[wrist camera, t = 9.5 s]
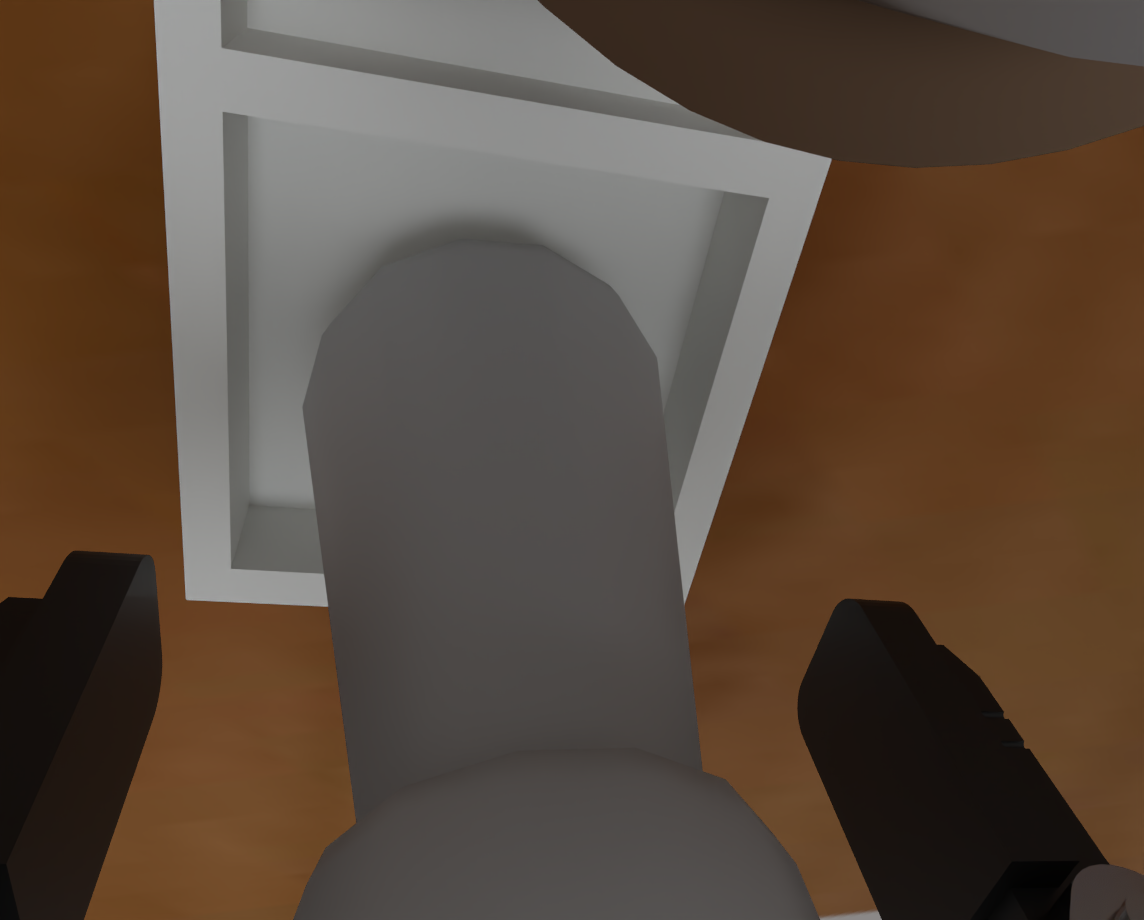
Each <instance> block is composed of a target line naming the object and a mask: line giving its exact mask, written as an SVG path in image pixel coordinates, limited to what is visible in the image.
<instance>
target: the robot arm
mask: <svg viewBox="0 0 1144 920" xmlns="http://www.w3.org/2000/svg"><path fill="white" fill-rule="evenodd" d="M161 676H162V649H161V637H160V624H159V611H158V599H157V586H156V573H155V566H154V561H153V559H152V557H151V556H150V555H140V554H124V553H107V552H90V551H73V552H71V553H70V554H69V555H68V556H67V557H66V559H65V560H64V562H63V564H62V565H61V567H60V569H59V571H58V573H57V574H56V576H55V578H54V580H53V581H52V583H51V585H50V587H49V589H48V590H47V592H46V594H45V596H44V598H43V599H36V598H16V597H8V598H7V599H5V600H4V601H3V602H1V603H0V920H84V917H85V915H86V912H87V909H88V906H89V903H90V900H91V897H92V894H93V891H94V888H95V886H96V883H97V880H98V877H99V874H100V871H101V868H102V865H103V862H104V860H105V857H106V854H107V851H108V848H109V845H110V842H111V839H112V836H113V833H114V831H115V828H116V825H117V822H118V819H119V816H120V813H121V810H122V807H123V804H124V802H125V799H126V796H127V793H128V790H129V787H130V784H131V781H132V778H133V776H134V773H135V770H136V767H137V764H138V761H139V758H140V755H141V752H142V749H143V747H144V744H145V741H146V738H147V735H148V732H149V729H150V726H151V723H152V721H153V717H154V714H155V711H156V707H157V702H158V698H159V692H160V685H161ZM1003 713H1004V711H1003V710H1002V708H1001V707H1000V706H999V704H998V703H997V701H996V700H995V698H994V697H993V695H992V694H991V693H990V691H989V690H988V688H987V687H986V685H985V684H984V682H983V681H982V680H981V678H980V677H979V676H978V675H977V674H976V673H975V672H974V671H973V670H971V669H970V668H969V667H968V666H967V665H966V664H965V663H963V662H962V661H961V660H960V659H959V658H958V657H957V656H955V655H954V654H953V653H952V652H951V651H950V650H948V649H947V648H946V647H945V646H944V645H936V643H935V642H934V640H933V639H932V637H931V636H930V634H929V633H928V631H927V629H926V628H925V626H924V625H923V623H922V622H921V620H920V619H919V617H918V616H917V614H916V613H915V612H914V610H913V609H912V608H911V607H910V606H909V605H907V604H906V603H903V602H895V601H879V600H862V599H844V600H842V601H841V602H840V603H838V605H837V606H836V607H835V609H834V611H833V613H832V615H831V617H830V620H829V622H828V624H827V626H826V629H825V631H824V633H823V635H822V638H821V640H820V642H819V644H818V647H817V649H816V651H815V654H814V656H813V658H812V660H811V663H810V665H809V667H808V669H807V672H806V674H805V676H804V678H803V681H802V683H801V686H800V690H799V695H798V720H799V725H800V729H801V733H802V735H803V738H804V740H805V743H806V745H807V747H808V750H809V752H810V754H811V757H812V759H813V761H814V764H815V766H816V768H817V771H818V773H819V775H820V777H821V780H822V782H823V784H824V787H825V789H826V791H827V794H828V796H829V798H830V801H831V803H832V805H833V808H834V810H835V812H836V814H837V817H838V819H839V821H840V824H841V826H842V828H843V831H844V833H845V835H846V838H847V840H848V842H849V845H850V847H851V849H852V851H853V854H854V856H855V858H856V861H857V863H858V865H859V868H860V870H861V872H862V875H863V877H864V879H865V882H866V884H867V886H868V888H869V891H870V893H871V895H872V898H873V900H874V902H875V905H876V907H877V909H878V912H879V914H880V916H881V918H882V920H1144V875H1142V874H1140V873H1137V872H1135V871H1132V870H1129V869H1126V868H1123V867H1119V866H1114V865H1110V864H1109V863H1108V862H1107V860H1106V859H1105V858H1104V856H1103V855H1102V853H1101V852H1100V850H1099V849H1098V847H1097V846H1096V845H1095V843H1094V842H1093V840H1092V839H1091V837H1090V836H1089V834H1088V833H1087V831H1086V830H1085V829H1084V827H1083V826H1082V824H1081V823H1080V821H1079V820H1078V818H1077V817H1076V816H1075V814H1074V813H1073V811H1072V810H1071V808H1070V807H1069V805H1068V804H1067V803H1066V801H1065V800H1064V798H1063V797H1062V795H1061V794H1060V792H1059V791H1058V790H1057V788H1056V787H1055V785H1054V784H1053V782H1052V781H1051V779H1050V778H1049V776H1048V775H1047V774H1046V772H1045V771H1044V769H1043V768H1042V766H1041V765H1040V763H1039V762H1038V761H1037V759H1036V758H1035V756H1034V755H1033V753H1032V752H1031V750H1030V749H1025V748H1024V740H1023V739H1022V737H1021V736H1020V735H1019V733H1018V732H1017V730H1016V729H1015V727H1014V726H1013V724H1012V723H1011V721H1010V720H1009V719H1004V717H1003Z"/></svg>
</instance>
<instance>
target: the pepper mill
mask: <svg viewBox="0 0 1144 920" xmlns="http://www.w3.org/2000/svg"><path fill="white" fill-rule="evenodd" d="M538 1H539V2H540V3H541V4H542V5H543V6H544V7H545V8H546V9H547V10H549V11H550V12H551V13H552V14H553V15H555V16H556V17H557V18H558V19H560V20H561V21H562V22H563V23H564V24H566V25H567V26H568V27H569V28H571V29H572V30H573V31H574V32H575V33H577V34H578V35H579V36H580V37H581V38H583V39H584V40H585V41H586V42H588V43H589V44H590V45H591V46H592V47H594V48H595V49H596V50H597V51H599V52H600V53H601V54H602V55H603V56H605V57H606V58H607V59H608V60H610V61H611V62H612V63H613V64H614V65H616V66H617V67H619V68H620V69H622V70H624V71H625V72H627V73H629V74H630V75H632V76H633V77H635V78H637V79H638V80H640V81H642V82H643V83H645V84H647V85H648V86H650V87H652V88H653V89H655V90H657V91H658V92H660V93H662V94H663V95H665V96H666V97H668V98H670V99H671V100H673V101H675V102H676V103H678V104H680V105H681V106H683V107H685V108H686V109H688V110H690V111H692V112H694V113H697V114H699V115H701V116H704V117H706V118H708V119H711V120H713V121H716V122H718V123H720V124H723V125H725V126H728V127H730V128H732V129H735V130H737V131H739V132H742V133H744V134H747V135H749V136H751V137H754V138H756V139H759V140H761V141H763V142H767V143H771V144H775V145H779V146H783V147H787V148H791V149H795V150H799V151H803V152H807V153H811V154H815V155H819V156H823V157H827V158H831V159H835V160H839V161H849V162H859V163H870V164H880V165H891V166H901V167H912V168H920V167H941V166H962V165H982V164H994V163H999V162H1005V161H1010V160H1016V159H1021V158H1026V157H1032V156H1037V155H1043V154H1048V153H1053V152H1059V151H1064V150H1069V149H1072V148H1075V147H1078V146H1082V145H1085V144H1088V143H1091V142H1094V141H1097V140H1101V139H1104V138H1107V137H1110V136H1113V135H1116V134H1120V133H1123V132H1126V131H1129V130H1132V129H1135V128H1138V127H1142V126H1144V0H538Z"/></svg>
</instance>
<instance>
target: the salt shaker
mask: <svg viewBox="0 0 1144 920" xmlns="http://www.w3.org/2000/svg"><path fill="white" fill-rule="evenodd" d="M302 409H303V417H304V425H305V432H306V440H307V448H308V455H309V463H310V471H311V478H312V486H313V494H314V501H315V509H316V517H317V524H318V532H319V540H320V547H321V555H322V563H323V570H324V578H325V586H326V593H327V601H328V609H329V616H330V624H331V632H332V639H333V647H334V655H335V662H336V670H337V678H338V685H339V693H340V701H341V708H342V716H343V724H344V731H345V739H346V747H347V754H348V762H349V770H350V777H351V785H352V793H353V800H354V808H355V815H356V824H355V825H354V826H352V827H351V828H350V829H349V830H347V831H346V832H345V833H344V834H342V835H341V836H340V837H339V838H337V839H336V840H335V841H334V842H332V843H331V844H330V845H329V846H327V847H326V848H325V850H324V852H323V854H322V856H321V858H320V860H319V862H318V864H317V866H316V868H315V870H314V871H313V873H312V875H311V877H310V879H309V881H308V883H307V885H306V887H305V890H304V893H303V895H302V898H301V901H300V903H299V906H298V909H297V911H296V914H295V916H294V919H293V920H820V919H819V916H818V914H817V912H816V909H815V907H814V904H813V902H812V900H811V897H810V895H809V893H808V890H807V888H806V886H805V883H804V881H803V879H802V876H801V874H800V871H799V869H798V867H797V864H796V863H795V862H794V860H793V859H792V858H791V856H790V855H789V854H788V853H787V851H786V850H785V849H784V847H783V846H782V845H781V844H780V842H779V841H778V840H777V838H776V837H775V836H774V835H773V833H772V832H771V831H770V830H769V828H768V827H767V826H766V825H765V824H764V823H763V822H762V820H761V819H760V818H759V817H758V816H757V815H756V814H755V812H754V811H753V810H752V809H751V808H750V807H749V806H748V804H747V803H746V802H745V801H744V800H743V799H742V798H741V796H740V795H739V794H738V793H737V792H736V791H735V790H734V789H733V787H732V786H731V785H730V784H729V783H728V782H727V781H726V779H723V778H720V777H717V776H714V775H712V774H709V773H706V772H703V771H702V762H701V753H700V744H699V735H698V725H697V716H696V707H695V698H694V689H693V680H692V671H691V662H690V653H689V644H688V634H687V625H686V616H685V607H684V598H683V589H682V580H681V571H680V562H679V553H678V543H677V534H676V525H675V516H674V507H673V498H672V489H671V480H670V471H669V462H668V452H667V443H666V434H665V425H664V416H663V407H662V398H661V389H660V380H659V370H658V361H657V357H656V355H655V353H654V352H653V350H652V348H651V347H650V345H649V344H648V342H647V340H646V339H645V337H644V335H643V334H642V332H641V331H640V329H639V327H638V326H637V324H636V323H635V321H634V319H633V318H632V316H631V314H630V313H629V311H628V310H627V308H626V306H625V305H624V303H623V302H622V300H621V298H620V297H619V295H618V294H617V293H616V292H615V291H614V289H613V288H612V287H611V286H610V285H609V284H607V283H605V282H604V281H602V280H600V279H599V278H597V277H595V276H594V275H592V274H590V273H589V272H587V271H585V270H583V269H582V268H580V267H578V266H577V265H575V264H573V263H572V262H570V261H568V260H567V259H565V258H563V257H562V256H560V255H558V254H557V253H555V252H553V251H552V250H550V249H548V248H547V247H545V246H543V245H534V244H522V243H510V242H497V241H485V240H473V239H458V240H455V241H453V242H450V243H447V244H444V245H441V246H438V247H436V248H433V249H430V250H427V251H424V252H421V253H419V254H416V255H413V256H410V257H407V258H404V259H401V260H399V261H396V262H393V263H390V264H387V265H384V266H382V267H381V268H380V269H379V270H378V271H377V272H376V274H375V275H374V276H373V277H372V278H371V279H370V280H369V281H368V282H367V283H366V285H365V286H364V287H363V288H362V289H361V290H360V291H359V292H358V293H357V295H356V296H355V297H354V298H353V299H352V300H351V301H350V302H349V303H348V304H347V306H346V307H345V308H344V309H343V310H342V311H341V312H340V313H339V314H338V316H337V317H336V318H335V319H334V320H333V321H332V322H331V323H330V325H329V326H328V328H327V329H326V330H325V332H324V333H323V334H322V337H321V340H320V344H319V348H318V351H317V355H316V359H315V362H314V366H313V370H312V373H311V377H310V381H309V384H308V388H307V392H306V395H305V399H304V403H303V406H302Z"/></svg>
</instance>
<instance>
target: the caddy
mask: <svg viewBox="0 0 1144 920" xmlns="http://www.w3.org/2000/svg"><path fill="white" fill-rule="evenodd" d="M154 13H155V32H156V51H157V69H158V88H159V107H160V125H161V144H162V163H163V181H164V200H165V219H166V237H167V256H168V275H169V293H170V312H171V331H172V349H173V368H174V387H175V405H176V424H177V443H178V461H179V480H180V499H181V517H182V536H183V555H184V573H185V592H186V600H198V601H219V602H241V603H262V604H283V605H305V606H326V607H328V601H327V593H326V586H325V578H324V570H323V563H322V555H321V547H320V540H319V532H318V524H317V517H316V509H315V501H314V494H313V486H312V478H311V471H310V463H309V455H308V448H307V440H306V432H305V425H304V417H303V409H302V406H303V403H304V399H305V395H306V392H307V388H308V384H309V381H310V377H311V373H312V370H313V366H314V362H315V359H316V355H317V351H318V348H319V344H320V340H321V337H322V334H323V333H324V332H325V330H326V329H327V328H328V326H329V325H330V323H331V322H332V321H333V320H334V319H335V318H336V317H337V316H338V314H339V313H340V312H341V311H342V310H343V309H344V308H345V307H346V306H347V304H348V303H349V302H350V301H351V300H352V299H353V298H354V297H355V296H356V295H357V293H358V292H359V291H360V290H361V289H362V288H363V287H364V286H365V285H366V283H367V282H368V281H369V280H370V279H371V278H372V277H373V276H374V275H375V274H376V272H377V271H378V270H379V269H380V268H381V267H382V266H384V265H387V264H390V263H393V262H396V261H399V260H401V259H404V258H407V257H410V256H413V255H416V254H419V253H421V252H424V251H427V250H430V249H433V248H436V247H438V246H441V245H444V244H447V243H450V242H453V241H455V240H458V239H473V240H485V241H497V242H510V243H522V244H534V245H543V246H545V247H547V248H548V249H550V250H552V251H553V252H555V253H557V254H558V255H560V256H562V257H563V258H565V259H567V260H568V261H570V262H572V263H573V264H575V265H577V266H578V267H580V268H582V269H583V270H585V271H587V272H589V273H590V274H592V275H594V276H595V277H597V278H599V279H600V280H602V281H604V282H605V283H607V284H609V285H610V286H611V287H612V288H613V289H614V291H615V292H616V293H617V294H618V295H619V297H620V298H621V300H622V302H623V303H624V305H625V306H626V308H627V310H628V311H629V313H630V314H631V316H632V318H633V319H634V321H635V323H636V324H637V326H638V327H639V329H640V331H641V332H642V334H643V335H644V337H645V339H646V340H647V342H648V344H649V345H650V347H651V348H652V350H653V352H654V353H655V355H656V357H657V361H658V370H659V380H660V389H661V398H662V407H663V416H664V425H665V434H666V443H667V452H668V462H669V471H670V480H671V489H672V498H673V507H674V516H675V525H676V534H677V543H678V553H679V562H680V571H681V580H682V589H683V598H684V604H685V601H686V598H687V595H688V592H689V589H690V586H691V583H692V580H693V577H694V574H695V571H696V568H697V565H698V562H699V559H700V556H701V553H702V550H703V547H704V544H705V541H706V538H707V535H708V532H709V529H710V526H711V523H712V520H713V517H714V514H715V511H716V508H717V504H718V501H719V498H720V495H721V492H722V489H723V486H724V483H725V480H726V477H727V474H728V471H729V468H730V465H731V462H732V459H733V456H734V453H735V450H736V447H737V444H738V441H739V438H740V435H741V432H742V429H743V426H744V423H745V420H746V417H747V414H748V411H749V408H750V405H751V402H752V399H753V396H754V393H755V390H756V387H757V384H758V381H759V378H760V375H761V372H762V369H763V366H764V362H765V359H766V356H767V353H768V350H769V347H770V344H771V341H772V338H773V335H774V332H775V329H776V326H777V323H778V320H779V317H780V314H781V311H782V308H783V305H784V302H785V299H786V296H787V293H788V290H789V287H790V284H791V281H792V278H793V275H794V272H795V269H796V266H797V263H798V260H799V257H800V254H801V251H802V248H803V245H804V242H805V239H806V236H807V233H808V230H809V227H810V224H811V220H812V217H813V214H814V211H815V208H816V205H817V202H818V199H819V196H820V193H821V190H822V187H823V184H824V181H825V178H826V175H827V172H828V169H829V166H830V163H831V160H832V159H831V158H827V157H823V156H819V155H815V154H811V153H807V152H803V151H799V150H795V149H791V148H787V147H783V146H779V145H775V144H771V143H767V142H763V141H761V140H759V139H756V138H754V137H751V136H749V135H747V134H744V133H742V132H739V131H737V130H735V129H732V128H730V127H728V126H725V125H723V124H720V123H718V122H716V121H713V120H711V119H708V118H706V117H704V116H701V115H699V114H697V113H694V112H692V111H690V110H688V109H686V108H685V107H683V106H681V105H680V104H678V103H676V102H675V101H673V100H671V99H670V98H668V97H666V96H665V95H663V94H662V93H660V92H658V91H657V90H655V89H653V88H652V87H650V86H648V85H647V84H645V83H643V82H642V81H640V80H638V79H637V78H635V77H633V76H632V75H630V74H629V73H627V72H625V71H624V70H622V69H620V68H619V67H617V66H616V65H614V64H613V63H612V62H611V61H610V60H608V59H607V58H606V57H605V56H603V55H602V54H601V53H600V52H599V51H597V50H596V49H595V48H594V47H592V46H591V45H590V44H589V43H588V42H586V41H585V40H584V39H583V38H581V37H580V36H579V35H578V34H577V33H575V32H574V31H573V30H572V29H571V28H569V27H568V26H567V25H566V24H564V23H563V22H562V21H561V20H560V19H558V18H557V17H556V16H555V15H553V14H552V13H551V12H550V11H549V10H547V9H546V8H545V7H544V6H543V5H542V4H541V3H540V2H539V1H538V0H154Z"/></svg>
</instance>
